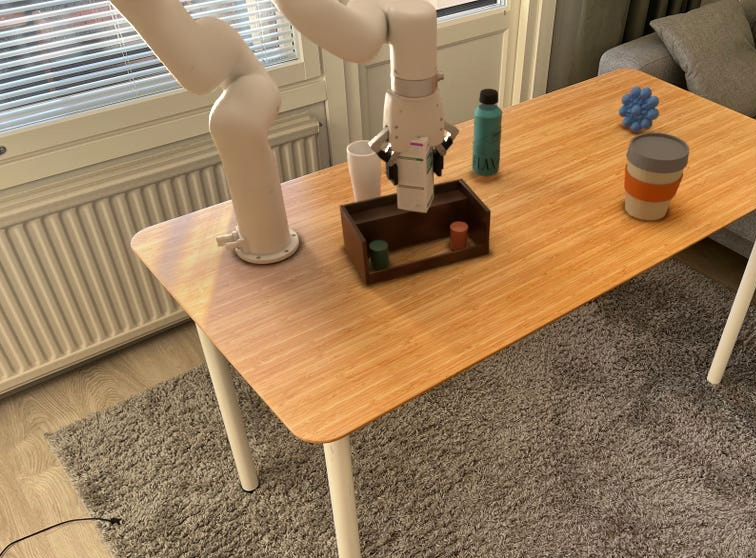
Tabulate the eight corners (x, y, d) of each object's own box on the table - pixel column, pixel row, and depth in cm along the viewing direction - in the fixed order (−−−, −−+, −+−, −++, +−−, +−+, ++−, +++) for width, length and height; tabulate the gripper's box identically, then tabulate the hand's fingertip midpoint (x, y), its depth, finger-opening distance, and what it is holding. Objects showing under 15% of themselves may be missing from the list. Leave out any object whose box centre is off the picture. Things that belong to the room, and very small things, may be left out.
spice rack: (366, 285, 134) (361, 241, 128) (344, 248, 143) (339, 205, 136) (488, 253, 143) (490, 210, 136) (461, 220, 151) (461, 178, 144)
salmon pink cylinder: (454, 253, 142) (454, 233, 139) (447, 243, 145) (447, 223, 141) (470, 249, 144) (471, 229, 140) (463, 239, 146) (463, 219, 143)
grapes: (663, 135, 181) (673, 88, 173) (646, 143, 178) (656, 96, 169) (627, 119, 187) (635, 74, 179) (611, 126, 184) (618, 81, 176)
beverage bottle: (467, 179, 163) (468, 94, 150) (477, 166, 168) (480, 82, 154) (493, 185, 162) (497, 100, 148) (503, 171, 166) (508, 88, 152)
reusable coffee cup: (685, 209, 156) (702, 145, 145) (654, 232, 149) (670, 167, 139) (637, 188, 162) (650, 126, 151) (605, 209, 155) (616, 146, 145)
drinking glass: (390, 208, 154) (386, 144, 144) (374, 223, 150) (369, 158, 139) (363, 200, 156) (357, 137, 146) (347, 215, 152) (339, 151, 141)
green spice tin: (374, 273, 137) (372, 252, 134) (368, 263, 140) (366, 242, 136) (392, 269, 138) (390, 248, 135) (385, 259, 141) (384, 238, 137)
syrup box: (427, 213, 131) (427, 140, 121) (396, 209, 132) (393, 136, 121) (434, 198, 135) (435, 125, 125) (404, 193, 136) (402, 121, 126)
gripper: (452, 67, 122) (450, 159, 135) (356, 81, 117) (363, 176, 129) (470, 84, 118) (466, 178, 130) (371, 99, 112) (377, 197, 124)
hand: (415, 177), depth 129 cm, fingers closed on syrup box, 8 cm apart
